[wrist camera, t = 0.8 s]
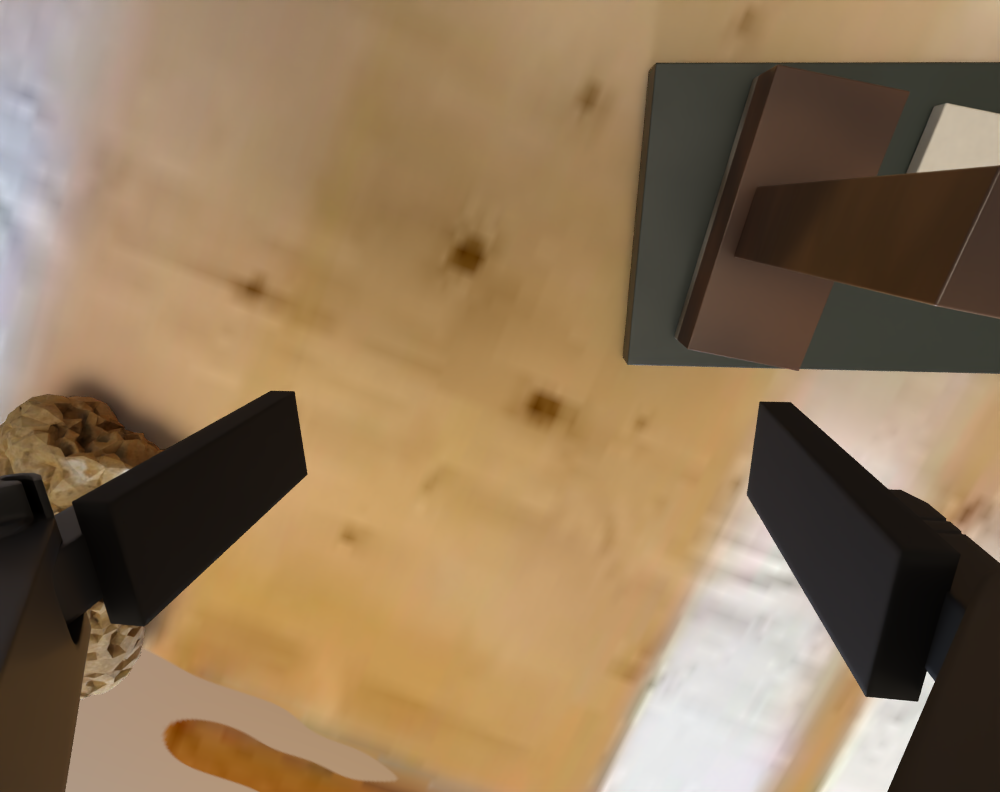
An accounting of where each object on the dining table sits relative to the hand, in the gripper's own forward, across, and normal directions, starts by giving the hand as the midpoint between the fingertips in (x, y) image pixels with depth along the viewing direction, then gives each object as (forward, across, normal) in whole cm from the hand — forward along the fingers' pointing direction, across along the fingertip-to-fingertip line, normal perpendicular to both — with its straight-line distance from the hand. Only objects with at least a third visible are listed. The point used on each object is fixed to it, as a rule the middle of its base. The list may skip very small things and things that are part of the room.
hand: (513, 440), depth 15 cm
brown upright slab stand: (+15, +11, +5) cm, 19 cm away
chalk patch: (+15, +19, +8) cm, 25 cm away
